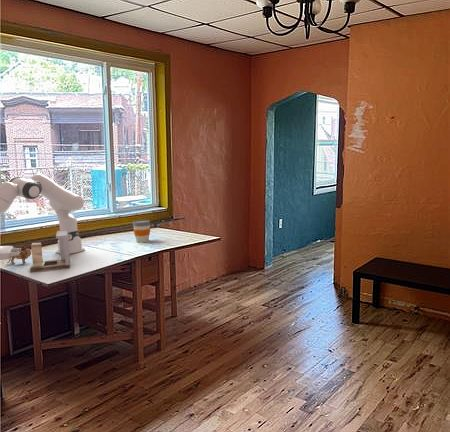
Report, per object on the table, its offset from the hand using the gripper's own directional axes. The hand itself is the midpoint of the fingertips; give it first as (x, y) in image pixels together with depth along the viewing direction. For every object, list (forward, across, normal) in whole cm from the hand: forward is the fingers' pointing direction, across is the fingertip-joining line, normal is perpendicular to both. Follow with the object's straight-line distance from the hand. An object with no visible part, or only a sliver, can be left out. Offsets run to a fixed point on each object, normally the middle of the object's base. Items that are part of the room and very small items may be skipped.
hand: (20, 251), depth 258 cm
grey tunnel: (+23, 0, +9) cm, 25 cm away
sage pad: (+9, 0, +9) cm, 12 cm away
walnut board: (+16, 0, +11) cm, 19 cm away
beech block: (+9, 0, +8) cm, 12 cm away
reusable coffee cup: (+76, +49, +10) cm, 91 cm away
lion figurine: (-2, +17, +11) cm, 20 cm away
